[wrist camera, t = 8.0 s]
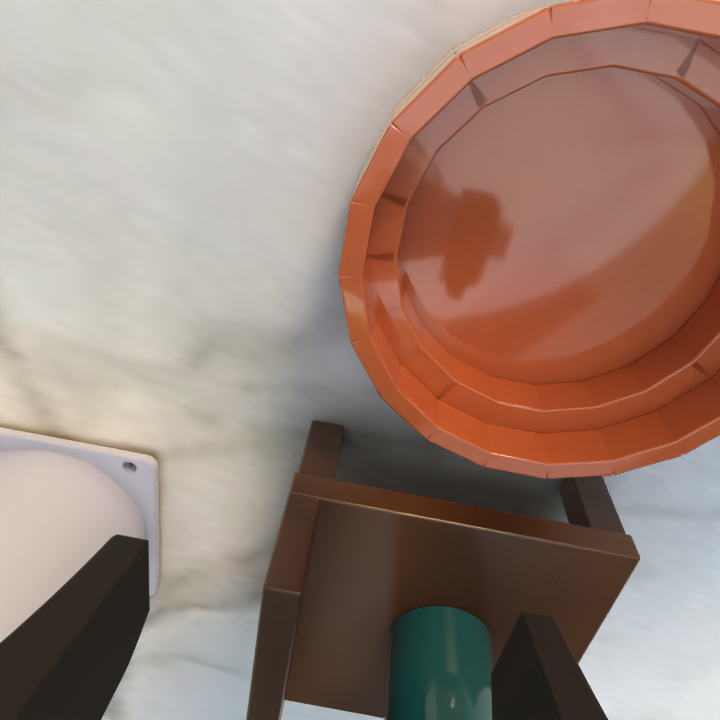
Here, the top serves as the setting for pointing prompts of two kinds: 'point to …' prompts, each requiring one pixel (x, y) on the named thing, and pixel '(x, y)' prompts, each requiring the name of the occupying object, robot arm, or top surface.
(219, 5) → the top surface
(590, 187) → the bowl
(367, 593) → the chair
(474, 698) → the salt shaker
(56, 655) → the robot arm
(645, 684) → the top surface
